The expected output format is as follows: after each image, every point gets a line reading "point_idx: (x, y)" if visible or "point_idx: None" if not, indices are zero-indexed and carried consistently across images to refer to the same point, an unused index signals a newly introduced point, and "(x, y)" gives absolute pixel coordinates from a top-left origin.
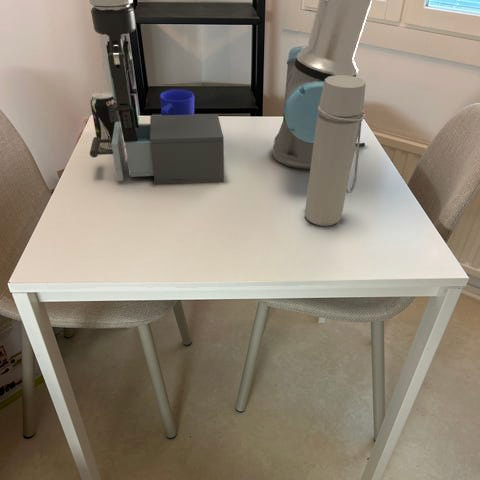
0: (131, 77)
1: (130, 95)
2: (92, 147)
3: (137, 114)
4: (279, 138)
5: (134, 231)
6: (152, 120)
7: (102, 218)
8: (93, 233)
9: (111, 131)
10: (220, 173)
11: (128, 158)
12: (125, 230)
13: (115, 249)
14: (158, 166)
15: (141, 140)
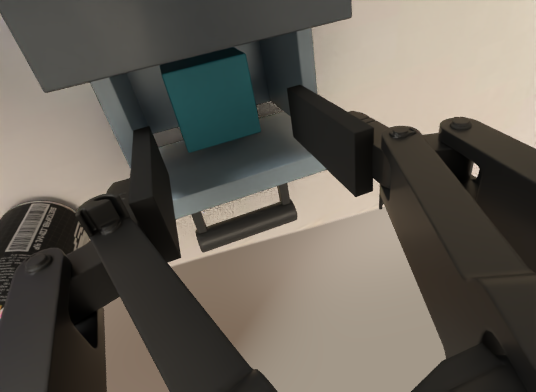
0: (58, 300)
1: (144, 221)
2: (277, 224)
3: None
4: None
5: (485, 15)
6: (117, 61)
7: (425, 103)
8: (469, 101)
9: (64, 243)
10: None
11: None
12: (476, 37)
13: (528, 40)
14: None
15: (191, 94)
